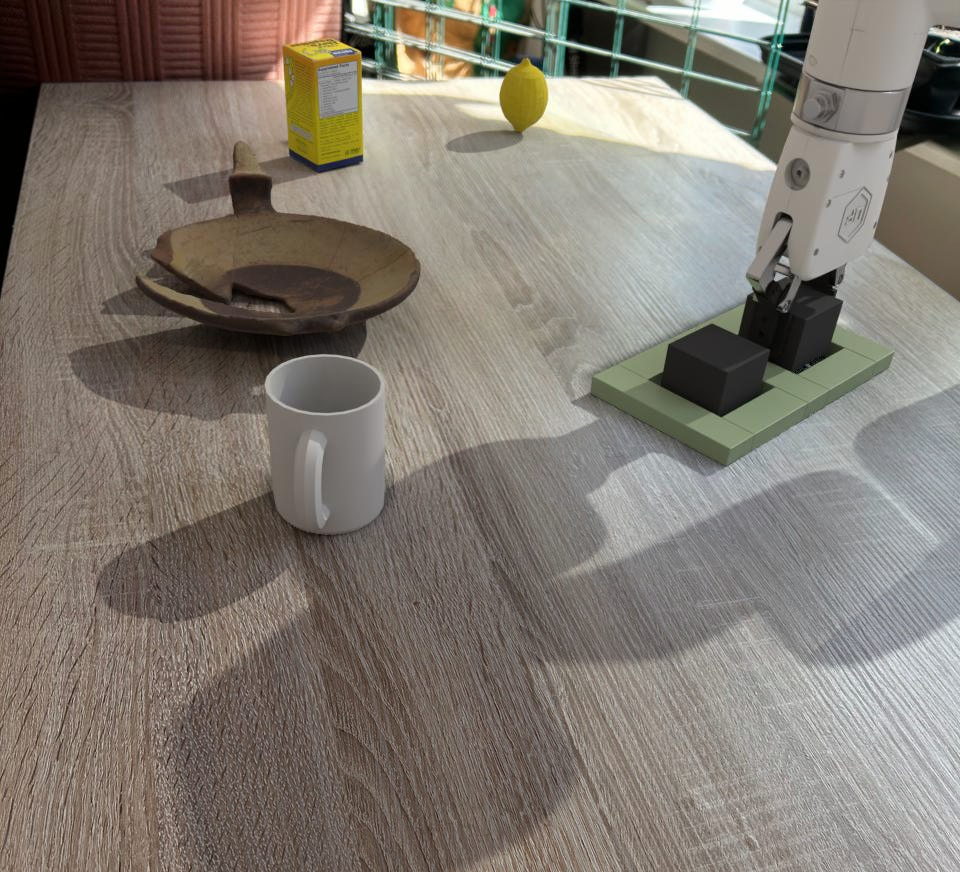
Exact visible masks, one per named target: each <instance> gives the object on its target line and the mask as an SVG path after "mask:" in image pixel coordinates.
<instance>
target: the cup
mask: <svg viewBox="0 0 960 872" xmlns="http://www.w3.org/2000/svg"><path fill="white" fill-rule="evenodd" d="M264 396H265V409H266V421H267V432H268V443H269V455H270V457H269V458H270V468H271V481H272V493H273V497H274V503H275V509H276V511H277V512H278V514H279V515H280V516H281V517H282V519H283V520H285V522H287V523H288V524H289V523H290V524H289V525H291V526H292V525H293V526H292V527H294V528H295V527H296V529H298V528H299V529H298V530H300V529H301V530H300V531H302V530H303V532H305V531H306V532H305V533H309V532H311V533H310V534H313V533H316V534H315V535H318V534H322V535H321V536H338V535H344V534H345V535H346V534H350V533H353V532H355V531H359V530H361V529H363V528H364V527H366V526H368V525H370V524H371V523H372V522H373V521H374V520H375V519H376V518H377V517H378V516H379V515H380V513H381V511H382V510H383V508H384V505H385V493H386V381H385V379H384V377H383V374H382V373H381V372H380V371H379V370H377V368H376V367H375V366H372V365H371V364H369V363H367V362H366V361H363V360H360V359H357V358H354V357H350V356H345V355H339V354H325V353H323V354H322V353H321V354H310V355H304V356H300V357H295V358H292V359H289V360H287V361H284V362H282V363H280V364H278V365H277V366H276V367H274V368H273V369H272V370H271V371H270V372H269V374H267V376H266V377H265V382H264ZM323 534H324V535H323ZM329 534H330V535H329ZM337 534H338V535H337Z"/></svg>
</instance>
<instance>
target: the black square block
mask: <svg viewBox="0 0 960 872" xmlns="http://www.w3.org/2000/svg"><path fill="white" fill-rule="evenodd" d="M788 278H789V277H787V276H785V277H782V278H780V279H778V280H775V281H776V282H778V283H779V284H780V286H781V288H782V291H783V290H784V288H785V286H786V283H787V281H788ZM753 295H754V292H753V291H752V292H750V293H749V294H747V296H746V299H745V303H744V304H745V308H744V312H743V316H742V320H741V324H740V328H739V333H738V335H739V336H741V337H743V338H745V339H746V337H747V333H748V329H749V325H750V321H751V317H752V313H753V309H754V305H755V301H754V300H753ZM843 304H844V300H842V299H840V298H837V297H833V296H831V295H828V294H826V293H824V292H821V291H819V290H816V289H814V288H812V287H809V286H807V285H805V284H802V283H800V286H799V288H798V290H797V293H796V295H795V297H794V300H793V302H792V304H791V307H790V310H792V311H794V314H793V318H792V321H791V325H790V329H789V332H788V336H787V340H786V343H785V347H784V351H783V354H782V356H781V357H779V358H777V359H773V358H771V357H768V361H769V362H771V363H773V364H775V365H777V366H779V367H781V368H783V369H786V370H788V371H790V372H792V373H794V372H795V371H797V370H799V369H801V368H802V367H804V366H806V365H808V364H810V363H811V362H813V361H815V360H816V359H818V358H820V357H823V356H822V355H824V354H826V353H827V352H828V351H829V348H830V344H831V341H832V338H833V335H834V331H835V328H836V326H838V325H837V324H838V321H839V318H840V315H841V312H842V308H843V306H844V305H843Z"/></svg>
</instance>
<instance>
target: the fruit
mask: <svg viewBox="0 0 960 872" xmlns="http://www.w3.org/2000/svg"><path fill="white" fill-rule="evenodd" d="M498 95H499V96H498V97H499V99H498V100H499V106H500V109H501V112H502V114H503V116H504V118H505V119H506V121H508V123H510V124H511V126H512V128H513V130H514V131H516V132H517V133H523V132H525V131H526V130H527V129H528V128H530V127H532V126H534V125H535V124H536V123H538V122H539V121H540V120H541V119H542V117H543V115H544V114H545V112H546V109H547V106H548V102H549V88H548V83H547V80H546V77H545V75H544V72H542V70H540V68H538V67H537V66H534V65H533V64H532V63H531V60H530V59H529V58H528V56H526V57H524V58H523V59H522V60H521V62H520V63H518V64H516V65H514V66H513V67H511V68H509V70H508V71H507V73H506V74H505V76H504V78H503V80H502V82H501V85H500V90H499V94H498Z"/></svg>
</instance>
